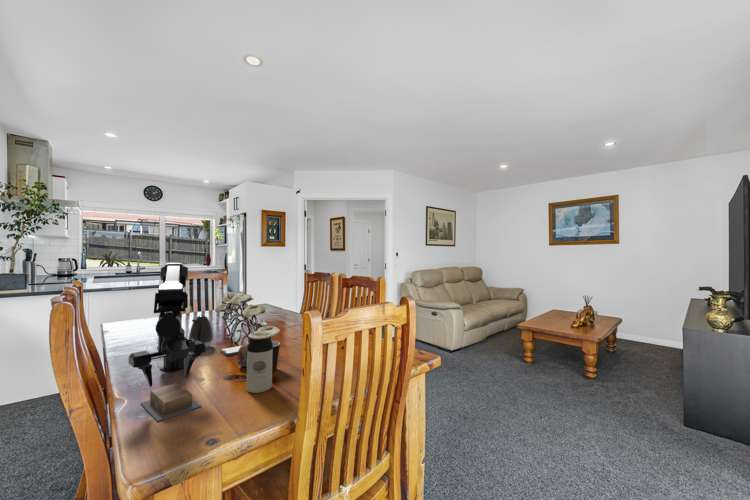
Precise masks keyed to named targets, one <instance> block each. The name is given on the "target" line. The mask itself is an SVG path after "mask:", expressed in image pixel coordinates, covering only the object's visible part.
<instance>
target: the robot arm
mask: <svg viewBox="0 0 750 500" xmlns="http://www.w3.org/2000/svg"><path fill="white" fill-rule="evenodd" d="M159 278H160V281H161V282H162V284H160V285H159V286H158V290H157V291H155V293H154V304H153V305H154V306H153V314H158V321H157V322H156V324H155V332H156V334H157V337H158V341H157V342H158V343H157V344H158V345H157V346H156V351H155V352H148V351H147V350H141V351H137V352H131V353H130V354H129V356H128V364H129V365H130V366H131V367H132V368H137V369H139V370H141V371H142V372H143V373H142V374H143V375H144V377H145V379H146V382H147V383H148V384H147V385H148V386H149V387H150V388H152V387H153V374H152V368H153V364H151V363H152V360H157V359H158V360H159V359H163V367H160V368H159V371H164V372H171V373H172V372H173V373H174V372H176V371H179V370H181V369H183V373H184V376H183V377H184V378H187V377H188V376H189V373H190V372H191V368H192V366H193V364H194V363H195V360H196V359H197V358H198V357H200V356H201V355H202V354H203V353H206V352H207V348H206V345H205V344H204V343H202V342H200V341H195V340H194V339H189V338H188V337H187V336H185V332H186V331H185V329H184V328H182V327H183V326H182V315H183V314H182V312H186V309H188V307H189V306H188V304H189V303H188V302H189V297H188V296H189V294H188V293H187V291H186V290H184V288H185V287H186V282H187V281H188V280H189V267H187V266H184V265H183V263H181V262H167V263H165V265H164V266H162V267H160V277H159Z"/></svg>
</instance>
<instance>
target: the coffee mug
mask: <svg viewBox="0 0 750 500" xmlns="http://www.w3.org/2000/svg"><path fill="white" fill-rule="evenodd" d="M271 341H272V343H273V355H272V373H274V372H276V371H277V368H278V360H279V355H280V347H281V343H280V342H279V341H275V340H271Z"/></svg>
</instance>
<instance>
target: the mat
mask: <svg viewBox="0 0 750 500" xmlns="http://www.w3.org/2000/svg"><path fill="white" fill-rule="evenodd" d="M140 405H141V406H142V407H143V408H144V410H145V411H147V412H148V414H149V415H150V416H151V417H152V418H153V419H154V420H155V421H156V422H157V423H158V422H159V423H160V422H162V421H165V420H168V419H171V418H174V417H177V416H178V415H179V416H180V415H182V414H185V413H188V412H191V411H193V410H196V409H200V408H201V407H202V404H200V403H199V402H197V400H195V399H193V398H192V406H191V407H188V408H185V409H182V410H179V411H176V412H174V413H171V414H168V415H165V416H164V415H163V414H162V413H161V412H160V411H159V410H158V409H157V408H156V407H155V406H154V405H153V404H152V403H151V402H150V400H146V401H142V402H140Z"/></svg>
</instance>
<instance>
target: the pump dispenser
mask: <svg viewBox="0 0 750 500" xmlns="http://www.w3.org/2000/svg"><path fill="white" fill-rule="evenodd" d="M191 322H193V323H192V324H191V328H190V330H189V335H188V340H189V339H194V340H195V341H200V342H202V343H204V344H205V345H206V349H207V348H209V347H210V346H211V345H212V343H213V341H214V333H213V332H214V331H213V328H212V325H211V322H210V320H209V318H208V317H207V316H206V315H199V316H197V317H196V318H195V319H192V320H191Z"/></svg>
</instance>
